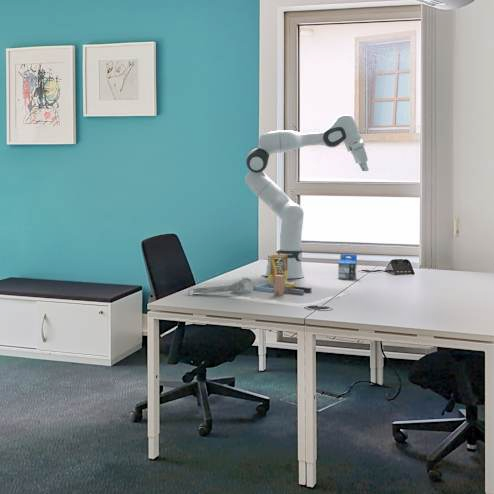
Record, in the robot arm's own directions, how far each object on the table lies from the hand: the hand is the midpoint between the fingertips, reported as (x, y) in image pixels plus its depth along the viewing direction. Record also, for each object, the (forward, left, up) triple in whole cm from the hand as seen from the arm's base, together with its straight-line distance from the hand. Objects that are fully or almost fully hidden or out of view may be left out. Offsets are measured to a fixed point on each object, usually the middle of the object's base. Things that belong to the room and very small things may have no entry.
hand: (365, 170), depth 358 cm
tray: (-19, -57, -55) cm, 82 cm away
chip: (-9, -57, -54) cm, 79 cm away
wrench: (-34, -75, -56) cm, 100 cm away
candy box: (-26, -41, -55) cm, 74 cm away
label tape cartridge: (-9, -1, -55) cm, 56 cm away
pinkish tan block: (-9, -66, -55) cm, 87 cm away
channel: (-7, -57, -55) cm, 80 cm away
